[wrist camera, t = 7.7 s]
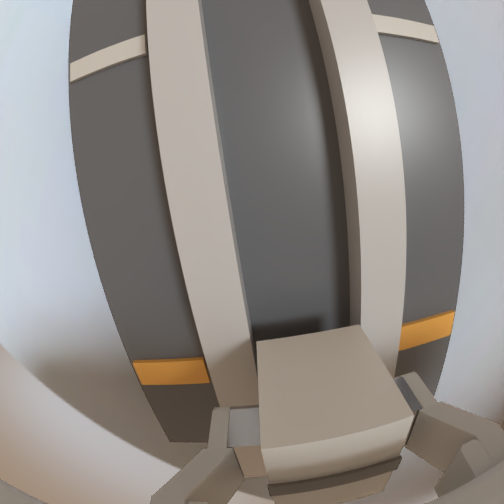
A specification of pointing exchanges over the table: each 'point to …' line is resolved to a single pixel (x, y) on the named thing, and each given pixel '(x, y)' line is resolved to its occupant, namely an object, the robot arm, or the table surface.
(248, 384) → the slider console
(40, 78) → the table surface
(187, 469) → the robot arm
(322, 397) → the fader knob
